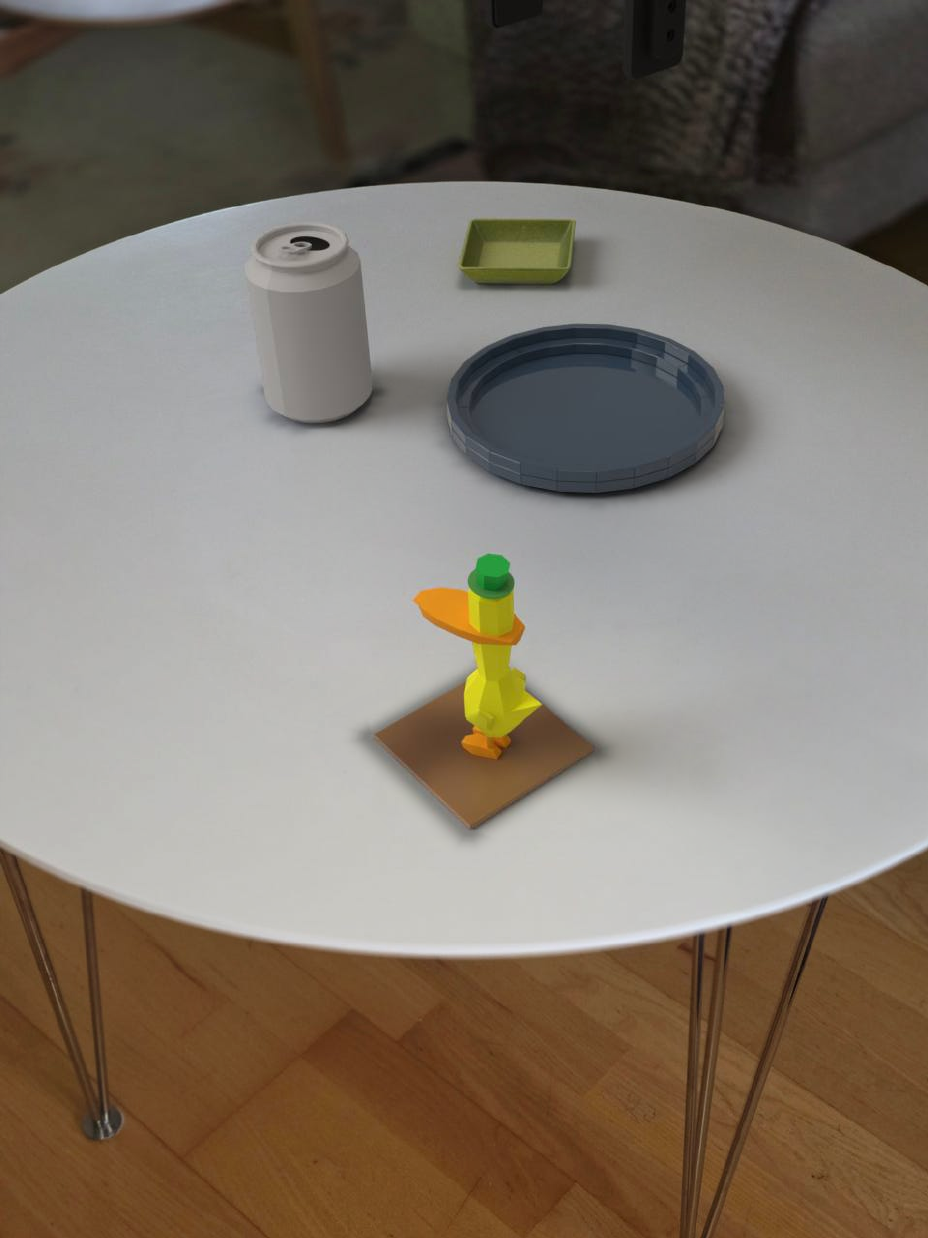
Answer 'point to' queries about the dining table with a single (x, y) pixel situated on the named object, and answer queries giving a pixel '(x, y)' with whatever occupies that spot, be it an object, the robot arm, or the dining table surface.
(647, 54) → the robot arm
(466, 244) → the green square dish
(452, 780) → the coaster
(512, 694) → the toy figure
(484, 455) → the plate
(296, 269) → the can
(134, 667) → the dining table surface
